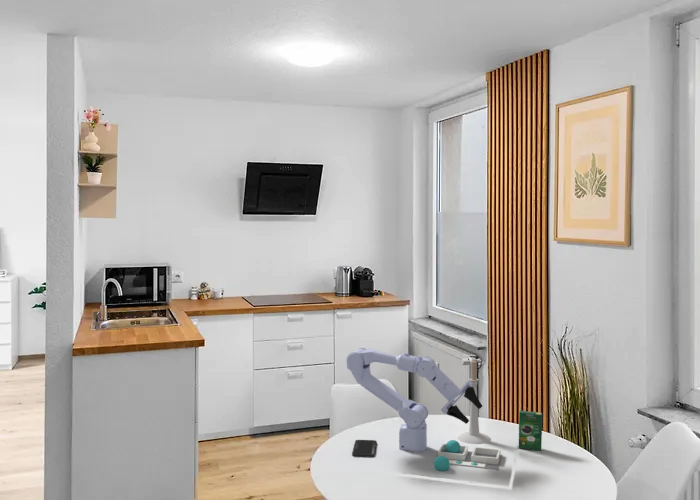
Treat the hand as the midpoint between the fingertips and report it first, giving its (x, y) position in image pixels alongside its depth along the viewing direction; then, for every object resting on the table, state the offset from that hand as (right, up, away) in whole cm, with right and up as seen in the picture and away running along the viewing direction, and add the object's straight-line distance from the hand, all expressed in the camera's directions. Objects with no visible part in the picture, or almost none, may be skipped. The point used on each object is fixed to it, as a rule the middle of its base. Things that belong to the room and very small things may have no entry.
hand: (474, 414), depth 213 cm
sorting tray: (-3, -15, -3) cm, 15 cm away
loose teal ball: (-13, -15, -11) cm, 23 cm away
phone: (-37, -16, +10) cm, 42 cm away
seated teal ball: (-7, -14, +1) cm, 16 cm away
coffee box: (+22, -15, +9) cm, 28 cm away
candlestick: (+3, -14, +18) cm, 23 cm away
